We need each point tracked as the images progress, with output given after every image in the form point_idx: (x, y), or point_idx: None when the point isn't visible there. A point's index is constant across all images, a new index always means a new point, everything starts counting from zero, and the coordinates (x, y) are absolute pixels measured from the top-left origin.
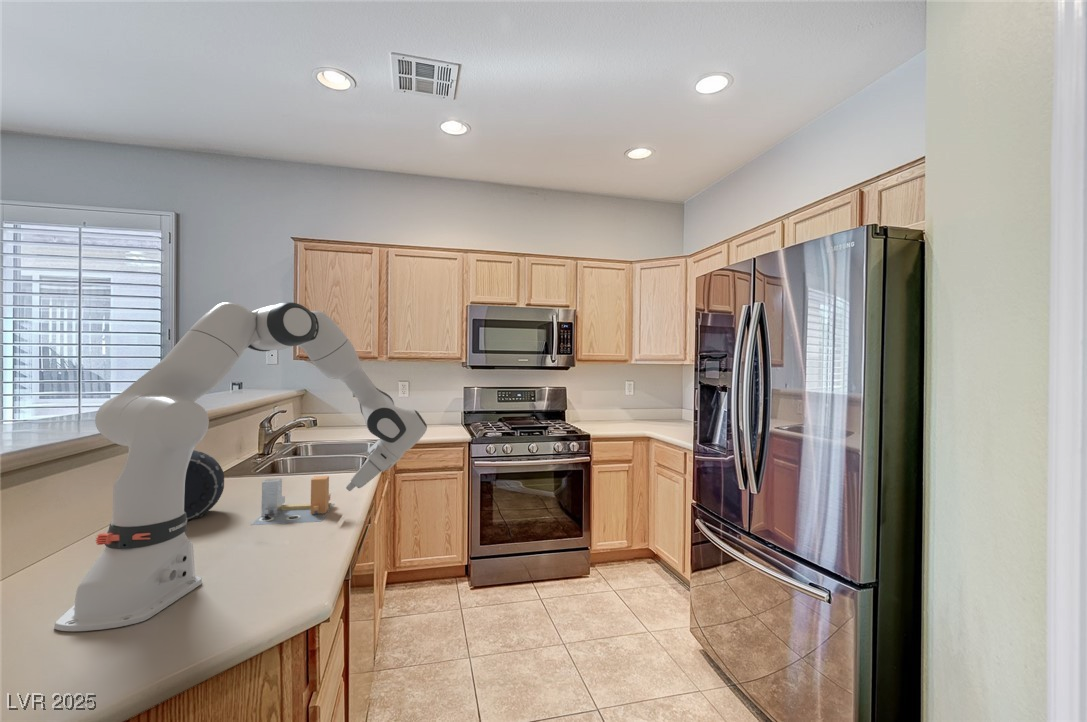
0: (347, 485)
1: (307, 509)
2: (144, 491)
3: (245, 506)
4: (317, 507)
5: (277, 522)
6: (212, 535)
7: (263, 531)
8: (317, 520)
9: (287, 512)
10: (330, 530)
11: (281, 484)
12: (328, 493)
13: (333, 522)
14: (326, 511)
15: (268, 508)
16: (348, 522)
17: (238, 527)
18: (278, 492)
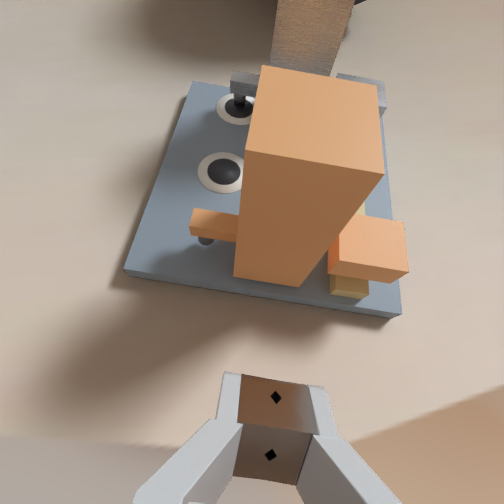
0: (282, 383)
1: None
2: None
3: (420, 75)
4: (189, 225)
5: (185, 134)
6: (180, 40)
7: (157, 119)
8: (146, 252)
9: None
10: (36, 317)
11: (343, 17)
12: (318, 252)
13: (155, 324)
14: (259, 280)
15: (252, 80)
16: (119, 401)
17: (225, 73)
18: (291, 42)
